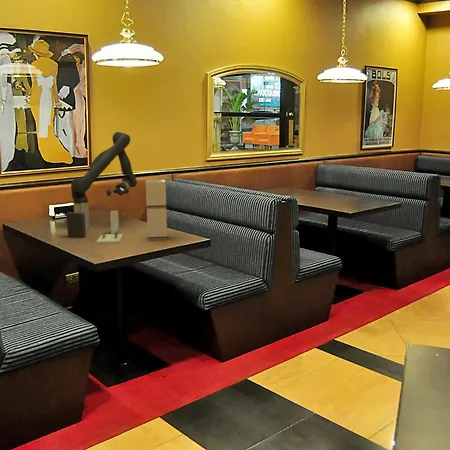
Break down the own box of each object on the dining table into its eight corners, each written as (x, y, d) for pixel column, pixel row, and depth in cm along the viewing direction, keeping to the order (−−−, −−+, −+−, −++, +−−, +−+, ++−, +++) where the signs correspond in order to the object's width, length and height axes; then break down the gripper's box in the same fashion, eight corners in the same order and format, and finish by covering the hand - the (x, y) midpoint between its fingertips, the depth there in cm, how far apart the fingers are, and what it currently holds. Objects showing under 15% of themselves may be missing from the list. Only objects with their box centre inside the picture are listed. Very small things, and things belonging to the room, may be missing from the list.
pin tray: (96, 243, 322) (96, 234, 321) (102, 236, 340) (101, 228, 338) (118, 243, 322) (118, 234, 321) (123, 236, 340) (122, 227, 339)
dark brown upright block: (86, 236, 339) (85, 212, 336) (82, 238, 335) (81, 214, 332) (71, 235, 343) (69, 211, 340) (67, 236, 339) (65, 212, 336)
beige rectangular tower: (166, 235, 341) (164, 179, 333) (167, 239, 330) (165, 182, 323) (147, 236, 339) (145, 180, 332) (147, 240, 329) (146, 182, 321)
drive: (111, 234, 346) (110, 212, 343) (112, 231, 351) (111, 210, 348) (117, 234, 346) (116, 212, 343) (119, 231, 352) (118, 210, 349)
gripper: (111, 183, 369) (103, 189, 354) (131, 182, 367) (124, 188, 352) (112, 193, 371) (104, 200, 356) (133, 192, 369) (126, 199, 354)
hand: (114, 194), depth 354 cm, fingers open, 8 cm apart
